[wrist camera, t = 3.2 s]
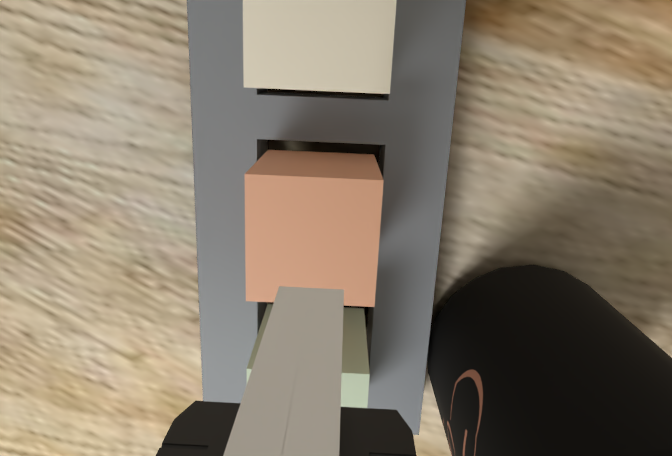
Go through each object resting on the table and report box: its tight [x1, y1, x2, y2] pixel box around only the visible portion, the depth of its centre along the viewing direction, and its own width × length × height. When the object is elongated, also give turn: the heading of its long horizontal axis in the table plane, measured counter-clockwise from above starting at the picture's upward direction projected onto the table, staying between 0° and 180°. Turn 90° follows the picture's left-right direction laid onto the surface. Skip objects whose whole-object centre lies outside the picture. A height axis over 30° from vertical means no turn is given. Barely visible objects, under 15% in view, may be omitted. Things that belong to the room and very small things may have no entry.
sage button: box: [247, 304, 370, 408], centre depth 24 cm, size 5×5×6 cm
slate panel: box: [187, 0, 466, 435], centre depth 26 cm, size 12×26×4 cm, turn 178°
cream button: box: [243, 0, 397, 94], centre depth 19 cm, size 5×5×6 cm
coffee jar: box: [427, 265, 672, 456], centre depth 22 cm, size 11×11×18 cm
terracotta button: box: [244, 150, 384, 307], centre depth 22 cm, size 5×5×6 cm
